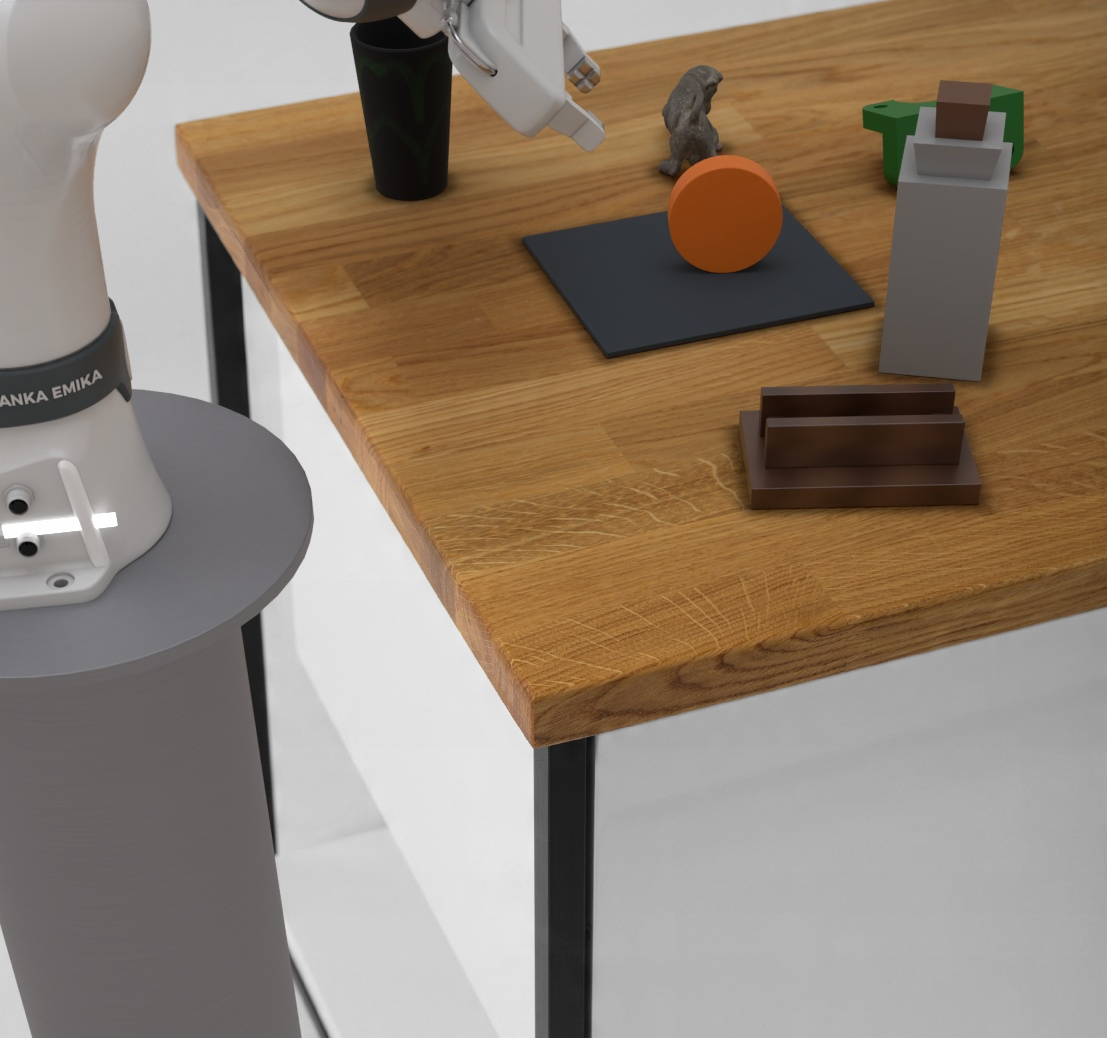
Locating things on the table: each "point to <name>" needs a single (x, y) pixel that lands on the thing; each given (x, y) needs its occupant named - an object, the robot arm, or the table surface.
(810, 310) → the mat
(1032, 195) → the table surface
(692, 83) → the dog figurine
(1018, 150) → the clamp
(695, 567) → the table surface
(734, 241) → the disc
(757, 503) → the rack
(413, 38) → the cup
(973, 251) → the perfume bottle
